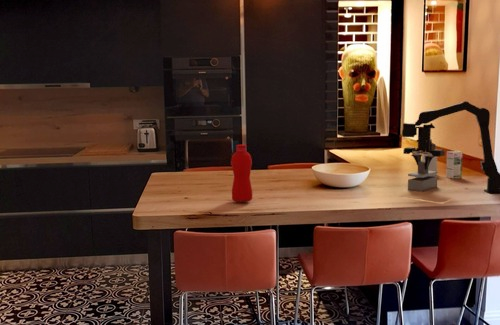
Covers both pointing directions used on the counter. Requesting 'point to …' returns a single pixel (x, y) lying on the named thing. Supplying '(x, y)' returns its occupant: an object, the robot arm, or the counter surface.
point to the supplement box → (431, 164)
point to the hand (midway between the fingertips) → (423, 169)
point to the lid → (422, 171)
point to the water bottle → (241, 174)
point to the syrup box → (454, 164)
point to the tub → (422, 183)
